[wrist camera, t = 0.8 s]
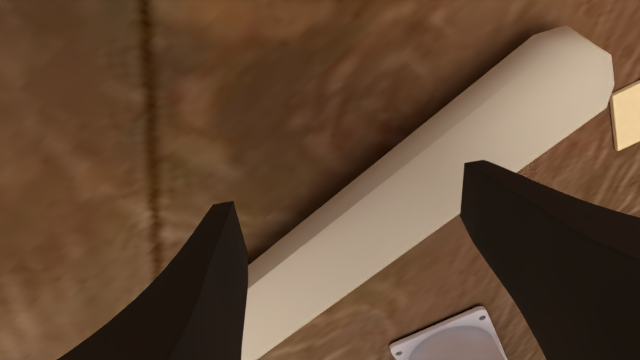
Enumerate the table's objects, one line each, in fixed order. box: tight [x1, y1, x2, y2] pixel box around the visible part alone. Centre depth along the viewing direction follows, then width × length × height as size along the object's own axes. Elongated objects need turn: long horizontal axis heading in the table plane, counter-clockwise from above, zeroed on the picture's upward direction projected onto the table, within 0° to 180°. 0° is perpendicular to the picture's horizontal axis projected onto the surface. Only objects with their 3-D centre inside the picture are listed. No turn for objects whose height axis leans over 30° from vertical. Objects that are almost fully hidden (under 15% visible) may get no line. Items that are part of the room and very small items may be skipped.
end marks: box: [609, 80, 640, 151], centre depth 26 cm, size 4×34×1 cm, turn 117°
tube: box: [241, 25, 614, 360], centre depth 22 cm, size 5×5×25 cm
